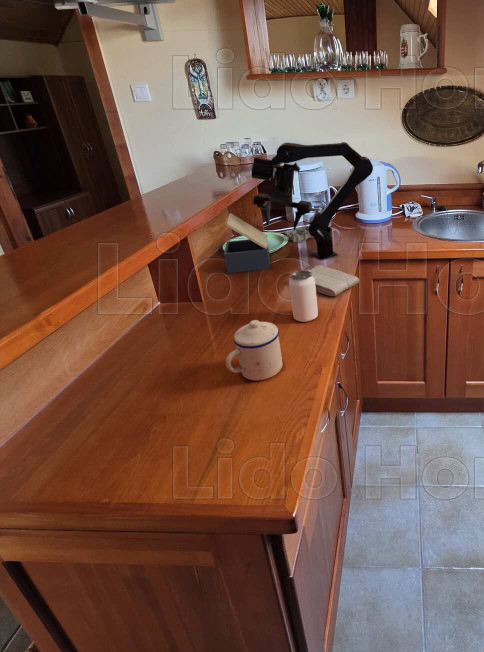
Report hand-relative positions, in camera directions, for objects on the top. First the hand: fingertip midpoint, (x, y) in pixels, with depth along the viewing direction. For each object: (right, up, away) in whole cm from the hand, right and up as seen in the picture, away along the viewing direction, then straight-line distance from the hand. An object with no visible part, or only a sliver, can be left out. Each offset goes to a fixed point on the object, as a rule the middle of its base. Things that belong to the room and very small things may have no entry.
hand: (281, 227), depth 145 cm
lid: (-10, -2, -5) cm, 11 cm away
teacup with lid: (+8, -37, -55) cm, 67 cm away
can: (+15, -27, -34) cm, 46 cm away
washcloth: (+18, -19, -16) cm, 31 cm away
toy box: (-11, -13, 0) cm, 17 cm away
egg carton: (+2, -2, +24) cm, 24 cm away
